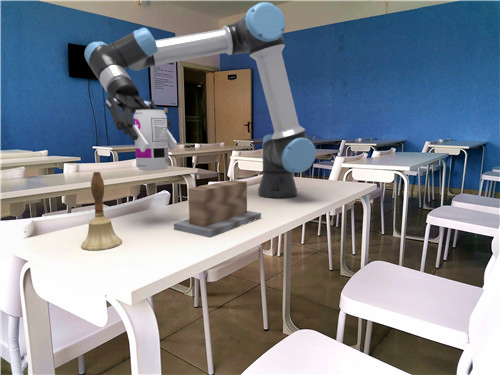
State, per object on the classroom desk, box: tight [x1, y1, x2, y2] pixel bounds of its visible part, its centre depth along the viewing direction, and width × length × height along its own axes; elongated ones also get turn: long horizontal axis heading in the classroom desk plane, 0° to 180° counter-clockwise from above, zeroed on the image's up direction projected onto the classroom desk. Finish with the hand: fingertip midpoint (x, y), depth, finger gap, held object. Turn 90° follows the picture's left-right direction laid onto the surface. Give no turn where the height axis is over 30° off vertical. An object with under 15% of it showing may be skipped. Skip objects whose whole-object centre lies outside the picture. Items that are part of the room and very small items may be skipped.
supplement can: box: [132, 109, 170, 171], centre depth 90 cm, size 8×8×15 cm
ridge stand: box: [173, 179, 262, 238], centre depth 93 cm, size 22×12×10 cm, turn 145°
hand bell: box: [80, 171, 123, 251], centre depth 75 cm, size 8×8×16 cm
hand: (160, 147), depth 88 cm, fingers closed on supplement can, 8 cm apart
